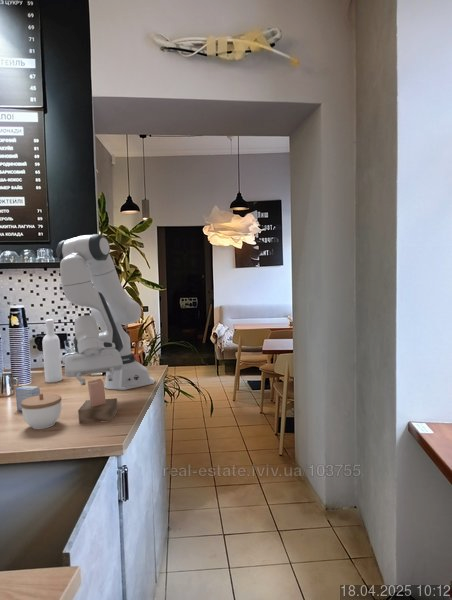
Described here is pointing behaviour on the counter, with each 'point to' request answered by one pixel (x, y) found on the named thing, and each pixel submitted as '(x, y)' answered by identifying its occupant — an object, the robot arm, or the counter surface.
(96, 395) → the terracotta block
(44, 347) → the bottle
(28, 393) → the medicine box
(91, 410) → the walnut block
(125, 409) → the counter surface
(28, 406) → the lidded bowl
